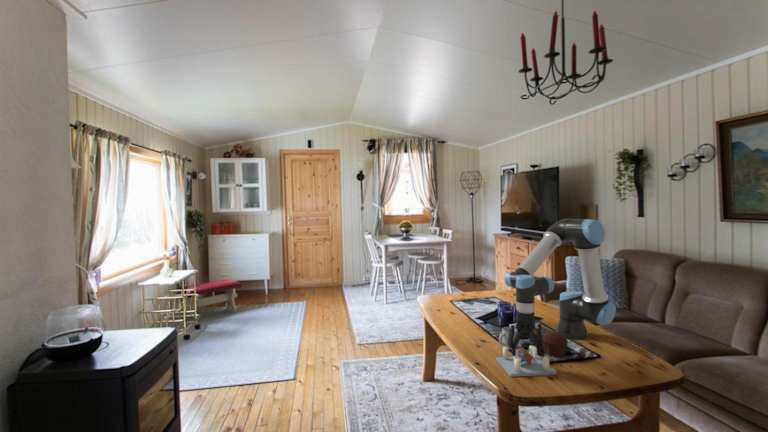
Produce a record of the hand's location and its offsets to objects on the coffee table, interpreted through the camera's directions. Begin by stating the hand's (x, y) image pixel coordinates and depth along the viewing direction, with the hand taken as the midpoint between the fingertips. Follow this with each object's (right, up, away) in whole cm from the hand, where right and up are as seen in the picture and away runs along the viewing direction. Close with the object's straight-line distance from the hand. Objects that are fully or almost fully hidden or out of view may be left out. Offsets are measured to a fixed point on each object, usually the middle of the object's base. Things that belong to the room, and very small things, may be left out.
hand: (525, 362), depth 159 cm
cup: (0, -1, +21) cm, 21 cm away
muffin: (+19, -1, +13) cm, 23 cm away
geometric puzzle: (0, -1, 0) cm, 1 cm away
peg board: (0, -2, 0) cm, 2 cm away
